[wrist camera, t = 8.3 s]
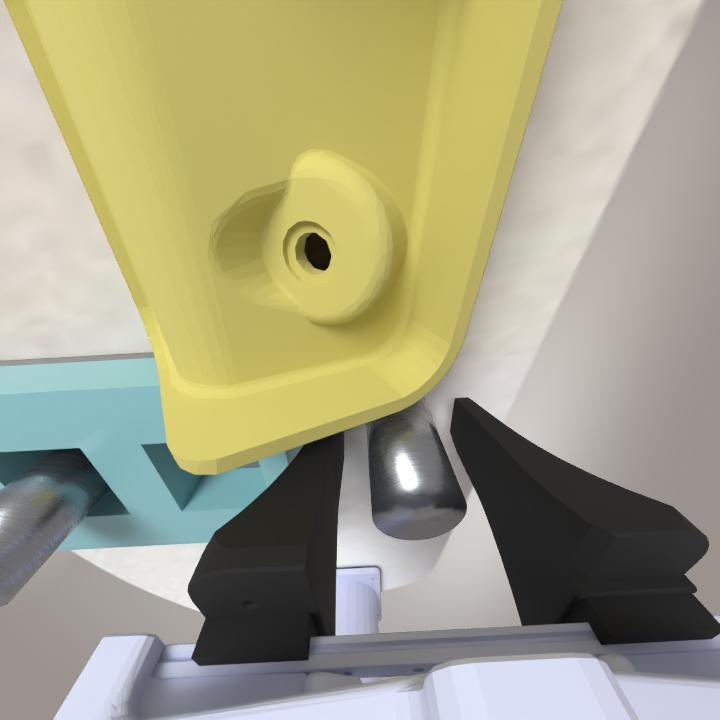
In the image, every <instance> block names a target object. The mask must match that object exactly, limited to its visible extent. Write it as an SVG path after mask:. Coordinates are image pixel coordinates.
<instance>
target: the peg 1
mask: <svg viewBox="0 0 720 720" xmlns="http://www.w3.org/2000/svg"><path fill="white" fill-rule="evenodd" d="M109 489H110V486H109V485H108V484H107V483H106V481H105V480H104V479H103V477H102V476H101V475H100V473H99V472H98V471H97V470H96V468H95V467H94V466H93V464H92V463H91V462H90V461H89V459H88V458H87V457H86V455H85V454H84V453H83V451H82V450H81V449H80V448H69V449H53V450H51V451H50V452H49V453H47V454H46V455H45V456H44V457H42V458H41V459H40V460H38V461H37V462H36V463H35V464H33V465H32V466H31V467H29V468H28V469H27V470H26V471H24V472H23V473H22V474H20V475H19V476H18V477H17V478H15V479H14V480H13V481H11V482H10V483H9V484H8V485H6V486H5V487H4V488H2V489H1V490H0V606H3V605H6V604H8V603H9V602H10V601H11V600H12V599H13V598H14V596H15V595H16V594H17V593H18V592H19V591H20V590H21V589H22V587H23V586H24V585H25V584H26V583H27V582H28V581H29V579H30V578H31V577H32V576H33V575H34V574H35V573H36V572H37V570H38V569H39V568H40V567H41V566H42V565H43V564H44V563H45V561H46V560H47V559H48V558H49V557H50V556H51V555H52V554H53V552H54V551H55V550H56V549H57V548H58V547H59V546H60V544H61V543H62V542H63V541H64V540H65V539H66V538H67V537H68V535H69V534H70V533H71V532H72V531H73V530H74V529H75V528H76V526H77V525H78V524H79V523H80V522H81V521H82V520H83V518H84V517H85V516H86V515H87V514H88V513H89V512H90V511H91V509H92V508H93V507H94V506H95V505H96V504H97V503H98V502H99V500H100V499H101V498H102V497H103V496H104V495H105V494H106V492H107V491H108V490H109Z"/></svg>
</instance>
